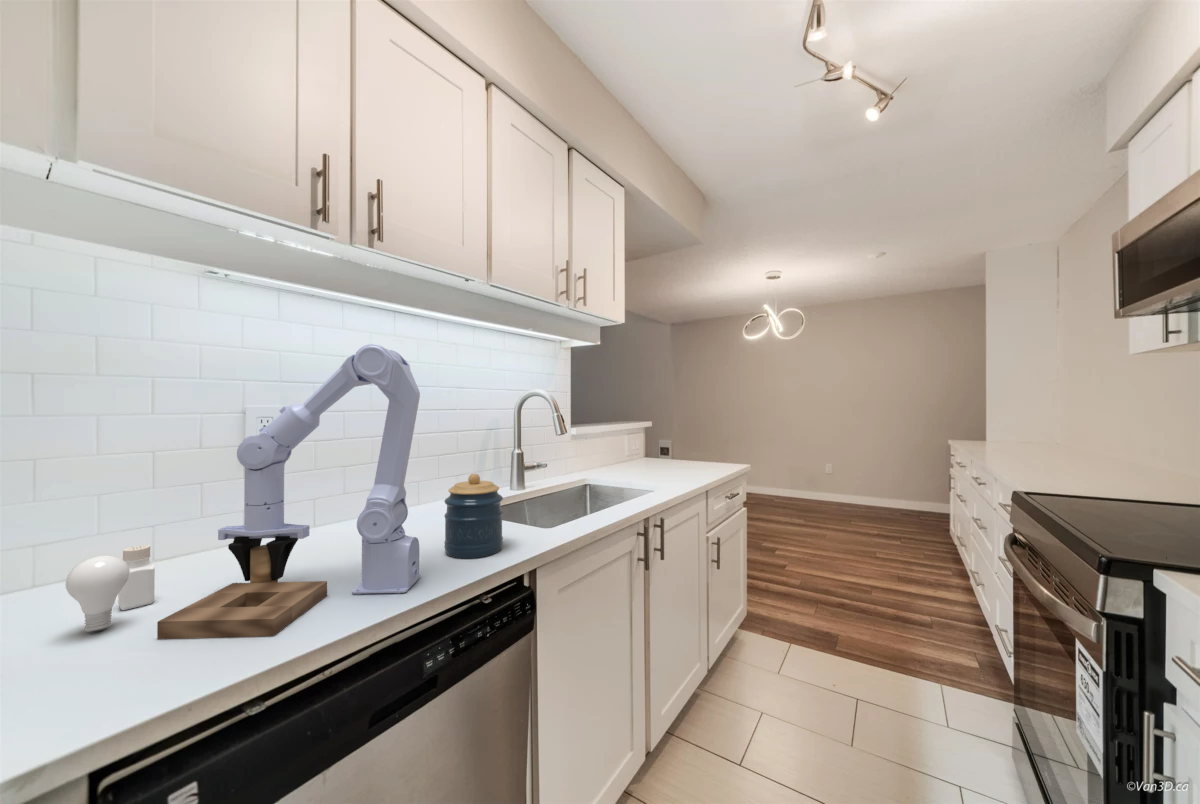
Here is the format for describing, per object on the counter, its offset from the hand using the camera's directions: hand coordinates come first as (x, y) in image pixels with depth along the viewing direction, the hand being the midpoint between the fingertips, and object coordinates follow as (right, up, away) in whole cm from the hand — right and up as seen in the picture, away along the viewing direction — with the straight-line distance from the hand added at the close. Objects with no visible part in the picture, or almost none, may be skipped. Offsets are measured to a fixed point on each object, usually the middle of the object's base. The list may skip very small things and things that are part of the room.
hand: (264, 578), depth 81 cm
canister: (+31, -3, +24) cm, 39 cm away
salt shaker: (-18, -3, -5) cm, 19 cm away
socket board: (+4, -2, -9) cm, 10 cm away
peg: (0, -2, 0) cm, 2 cm away
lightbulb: (-14, -3, -14) cm, 20 cm away
